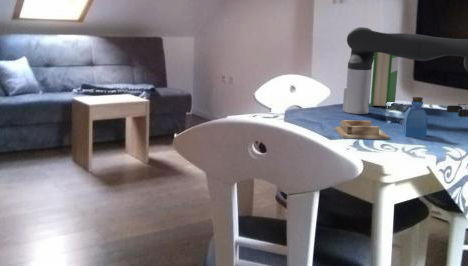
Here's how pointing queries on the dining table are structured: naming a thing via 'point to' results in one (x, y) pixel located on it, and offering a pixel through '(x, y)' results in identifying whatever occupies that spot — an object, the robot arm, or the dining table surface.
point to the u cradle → (360, 130)
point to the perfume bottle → (415, 119)
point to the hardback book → (384, 79)
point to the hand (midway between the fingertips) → (452, 110)
